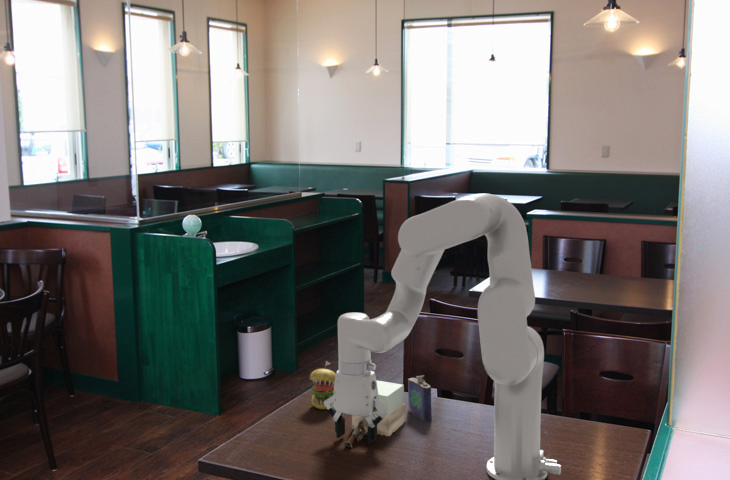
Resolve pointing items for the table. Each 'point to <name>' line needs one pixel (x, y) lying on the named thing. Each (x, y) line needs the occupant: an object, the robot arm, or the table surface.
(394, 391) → the top block
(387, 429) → the bottom block
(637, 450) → the table surface
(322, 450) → the table surface
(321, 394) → the hamburger
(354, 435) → the wooden post with brackets
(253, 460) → the table surface
